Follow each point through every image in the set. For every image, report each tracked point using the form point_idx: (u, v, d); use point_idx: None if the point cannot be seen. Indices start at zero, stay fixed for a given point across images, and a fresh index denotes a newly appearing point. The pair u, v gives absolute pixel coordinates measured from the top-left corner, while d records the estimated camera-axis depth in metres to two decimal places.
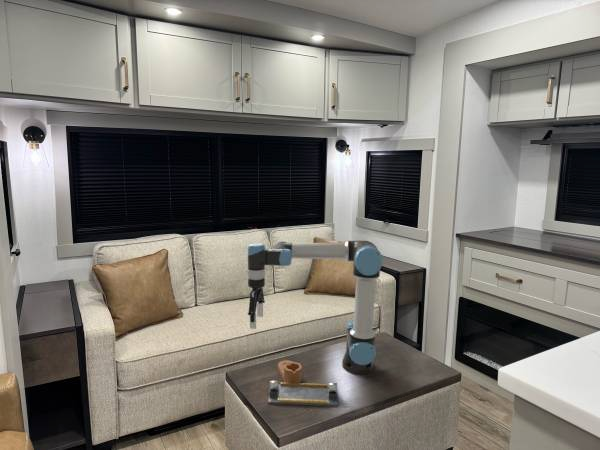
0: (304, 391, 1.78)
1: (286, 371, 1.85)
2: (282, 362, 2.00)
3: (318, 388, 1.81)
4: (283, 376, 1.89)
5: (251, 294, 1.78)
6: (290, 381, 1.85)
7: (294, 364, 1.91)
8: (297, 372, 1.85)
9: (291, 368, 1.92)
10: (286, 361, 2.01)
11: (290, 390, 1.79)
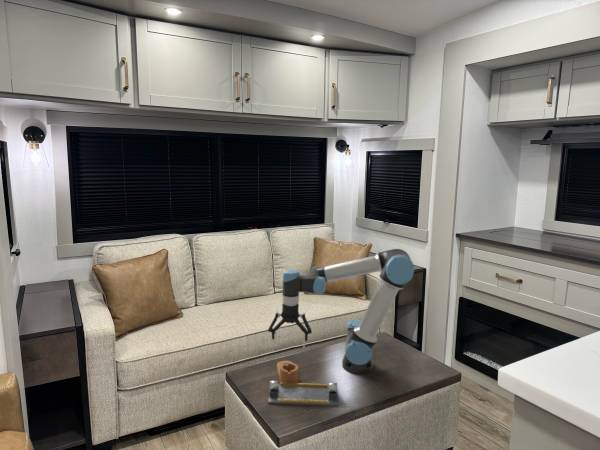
0: (304, 391, 1.78)
1: (282, 371, 1.85)
2: (282, 362, 2.00)
3: (318, 388, 1.81)
4: (279, 376, 1.89)
5: None
6: (285, 381, 1.85)
7: (291, 365, 1.91)
8: (292, 373, 1.84)
9: (288, 369, 1.91)
10: (286, 362, 2.00)
11: (290, 390, 1.79)
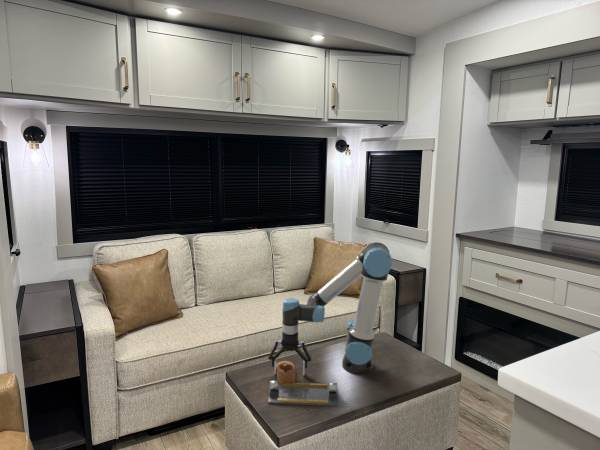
0: (304, 391, 1.78)
1: (278, 371, 1.85)
2: (281, 362, 2.00)
3: (318, 388, 1.81)
4: None
5: None
6: None
7: (289, 365, 1.90)
8: (289, 373, 1.84)
9: (286, 369, 1.91)
10: (286, 362, 2.00)
11: (290, 390, 1.79)
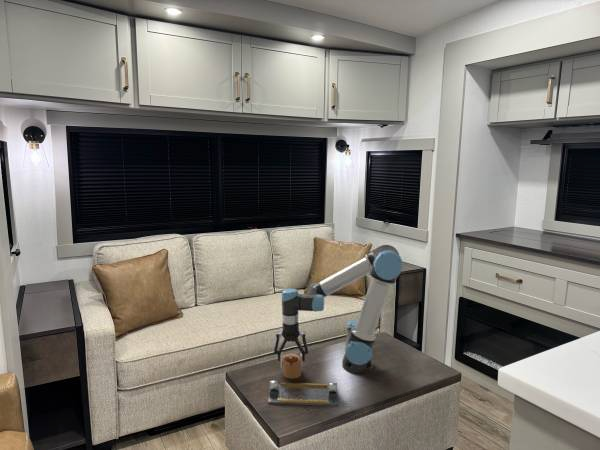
0: (304, 391, 1.78)
1: (284, 363, 1.85)
2: (287, 355, 1.99)
3: (318, 388, 1.81)
4: None
5: None
6: (288, 374, 1.84)
7: (295, 357, 1.89)
8: (294, 365, 1.83)
9: (292, 361, 1.90)
10: (292, 355, 2.00)
11: (290, 390, 1.79)
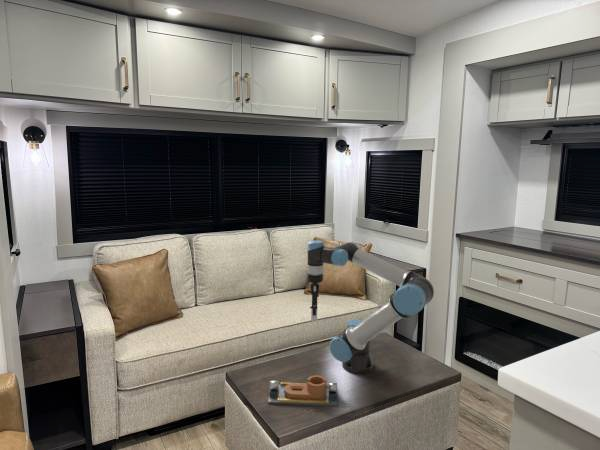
0: None
1: (321, 387, 1.71)
2: (287, 390, 1.75)
3: None
4: (313, 396, 1.71)
5: (313, 289, 1.88)
6: (324, 394, 1.73)
7: (311, 379, 1.76)
8: None
9: None
10: (288, 387, 1.77)
11: None
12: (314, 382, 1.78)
